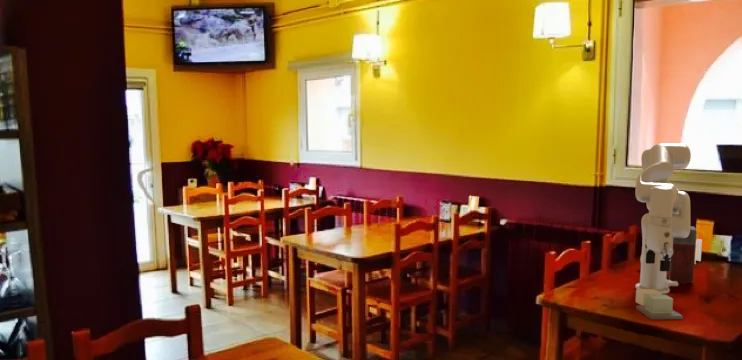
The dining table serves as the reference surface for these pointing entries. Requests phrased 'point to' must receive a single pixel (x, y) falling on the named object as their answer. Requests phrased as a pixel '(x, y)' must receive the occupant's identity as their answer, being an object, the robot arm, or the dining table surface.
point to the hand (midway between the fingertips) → (657, 267)
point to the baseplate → (659, 314)
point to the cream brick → (642, 295)
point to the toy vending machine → (683, 258)
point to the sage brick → (659, 303)
